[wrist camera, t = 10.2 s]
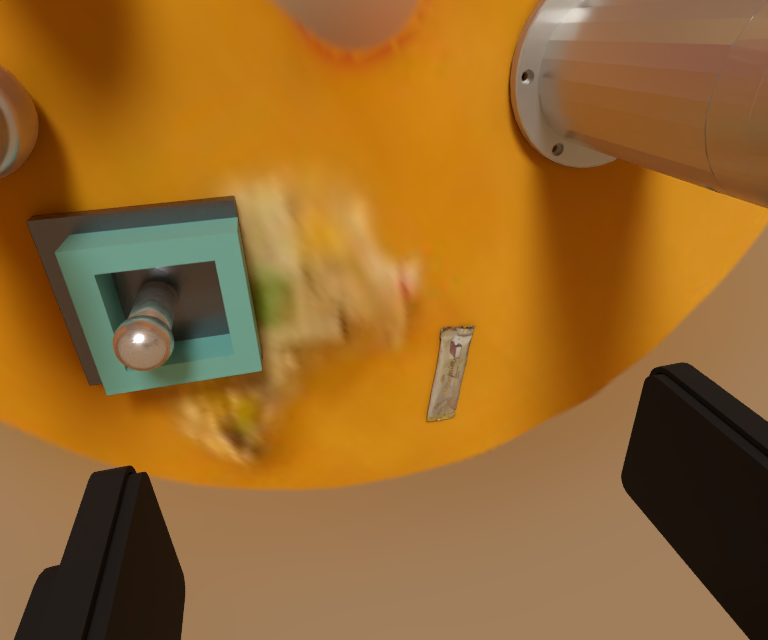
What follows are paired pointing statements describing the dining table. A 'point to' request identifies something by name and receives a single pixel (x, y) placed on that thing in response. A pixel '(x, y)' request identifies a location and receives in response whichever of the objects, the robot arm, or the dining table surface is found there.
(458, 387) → the snack bar
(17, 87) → the plastic bottle
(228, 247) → the teal square frame
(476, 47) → the dining table surface
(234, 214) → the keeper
